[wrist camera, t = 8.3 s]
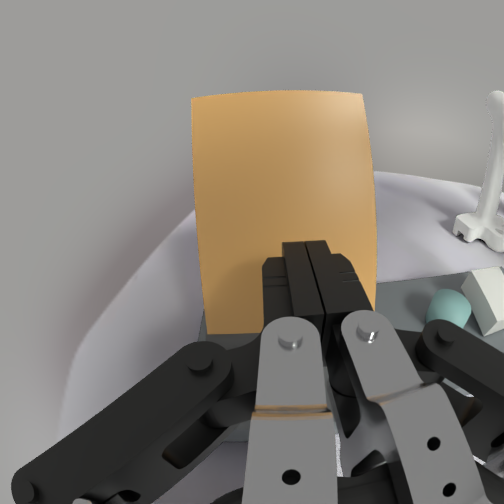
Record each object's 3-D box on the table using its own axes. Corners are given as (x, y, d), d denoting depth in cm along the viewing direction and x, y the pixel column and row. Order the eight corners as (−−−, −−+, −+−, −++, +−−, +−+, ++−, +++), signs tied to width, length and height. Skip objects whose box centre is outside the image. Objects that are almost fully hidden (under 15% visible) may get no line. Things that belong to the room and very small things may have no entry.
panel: (494, 282, 19) (501, 266, 18) (543, 350, 11) (555, 334, 10) (211, 315, 20) (206, 295, 19) (194, 439, 12) (184, 427, 11)
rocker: (488, 281, 16) (498, 266, 14) (510, 325, 12) (523, 311, 11) (460, 287, 16) (471, 270, 14) (483, 336, 12) (497, 321, 11)
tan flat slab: (365, 335, 15) (356, 102, 13) (374, 346, 14) (365, 92, 12) (212, 346, 15) (194, 107, 14) (207, 359, 14) (188, 96, 12)
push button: (449, 303, 16) (457, 286, 15) (468, 332, 13) (478, 315, 12) (418, 309, 16) (425, 291, 15) (436, 342, 13) (446, 324, 12)
